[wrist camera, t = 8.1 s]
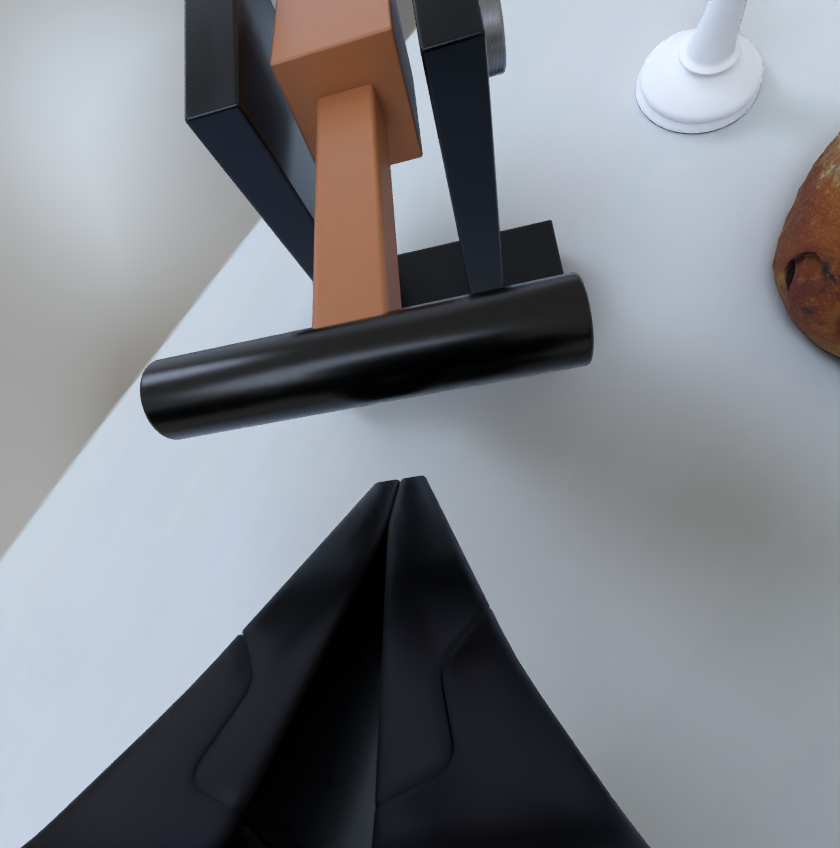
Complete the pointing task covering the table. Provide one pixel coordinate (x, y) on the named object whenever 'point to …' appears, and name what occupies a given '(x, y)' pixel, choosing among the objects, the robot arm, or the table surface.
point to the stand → (296, 171)
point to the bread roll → (814, 254)
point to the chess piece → (702, 73)
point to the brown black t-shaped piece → (363, 259)
